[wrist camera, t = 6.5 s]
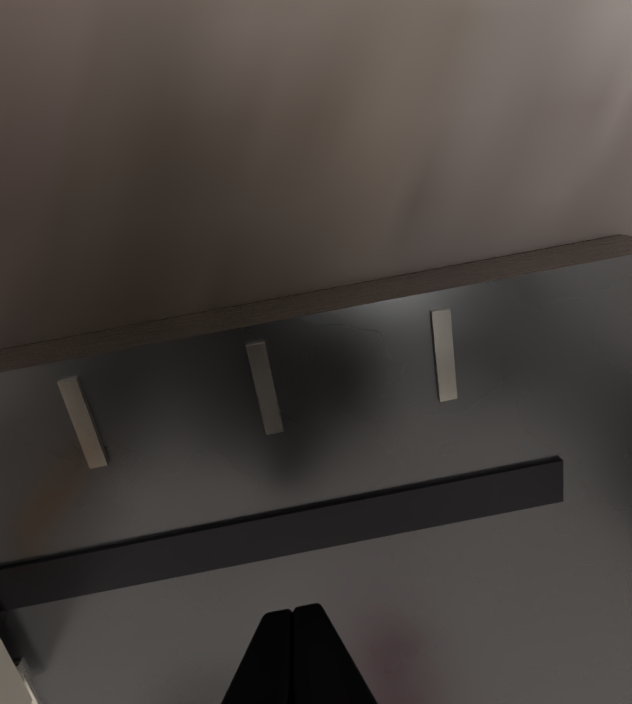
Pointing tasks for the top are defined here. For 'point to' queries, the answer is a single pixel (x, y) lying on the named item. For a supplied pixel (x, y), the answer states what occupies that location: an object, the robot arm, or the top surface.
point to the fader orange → (11, 681)
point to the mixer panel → (333, 488)
